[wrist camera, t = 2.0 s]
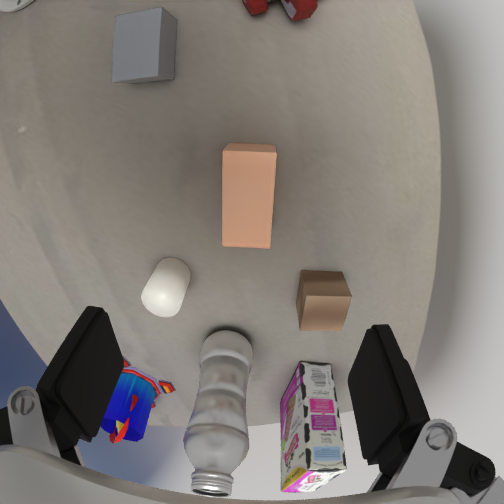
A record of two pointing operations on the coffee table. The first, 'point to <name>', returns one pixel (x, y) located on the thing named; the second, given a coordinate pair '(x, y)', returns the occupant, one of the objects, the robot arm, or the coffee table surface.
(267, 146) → the terracotta long brick
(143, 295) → the cream cylinder
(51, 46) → the coffee table surface
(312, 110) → the coffee table surface
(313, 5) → the toy fire truck
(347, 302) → the walnut square block
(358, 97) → the coffee table surface
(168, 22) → the grey short brick
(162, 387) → the fantasy tower
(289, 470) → the candy bar box
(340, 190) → the coffee table surface
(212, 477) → the plastic bottle
